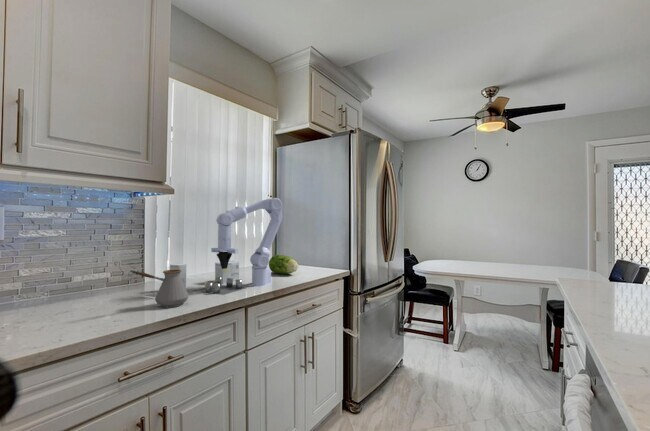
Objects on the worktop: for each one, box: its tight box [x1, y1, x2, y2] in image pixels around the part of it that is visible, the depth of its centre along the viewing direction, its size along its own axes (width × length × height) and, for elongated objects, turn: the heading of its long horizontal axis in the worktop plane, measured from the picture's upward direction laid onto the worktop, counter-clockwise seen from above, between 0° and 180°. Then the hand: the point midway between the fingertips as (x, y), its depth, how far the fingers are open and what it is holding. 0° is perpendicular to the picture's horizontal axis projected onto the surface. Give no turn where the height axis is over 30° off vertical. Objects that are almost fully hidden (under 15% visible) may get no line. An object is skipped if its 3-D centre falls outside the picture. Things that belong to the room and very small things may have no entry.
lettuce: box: [268, 254, 299, 275], centre depth 188 cm, size 12×21×11 cm, turn 50°
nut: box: [204, 280, 217, 289], centre depth 146 cm, size 5×5×3 cm
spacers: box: [206, 277, 243, 295], centre depth 143 cm, size 15×16×4 cm
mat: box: [193, 284, 247, 296], centre depth 143 cm, size 15×18×1 cm
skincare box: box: [169, 263, 187, 290], centre depth 144 cm, size 6×4×12 cm
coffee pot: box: [127, 269, 190, 308], centre depth 115 cm, size 21×12×15 cm, turn 148°
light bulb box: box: [214, 260, 240, 285], centre depth 162 cm, size 11×7×11 cm, turn 145°
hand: (224, 268), depth 145 cm, fingers closed
